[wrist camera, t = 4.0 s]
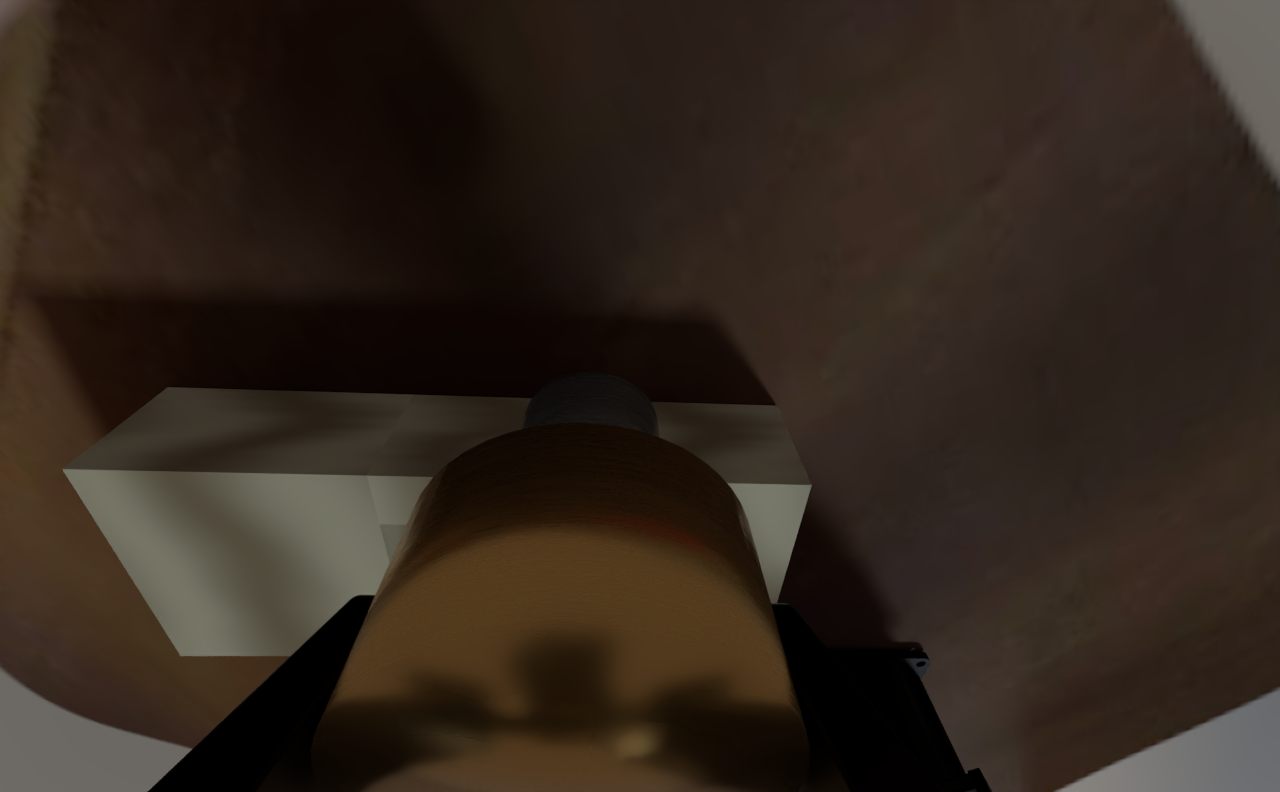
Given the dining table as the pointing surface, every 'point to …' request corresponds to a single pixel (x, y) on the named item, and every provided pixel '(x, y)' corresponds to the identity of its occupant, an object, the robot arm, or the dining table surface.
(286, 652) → the bar
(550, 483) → the brown rounded piece
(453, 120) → the dining table surface
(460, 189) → the dining table surface
